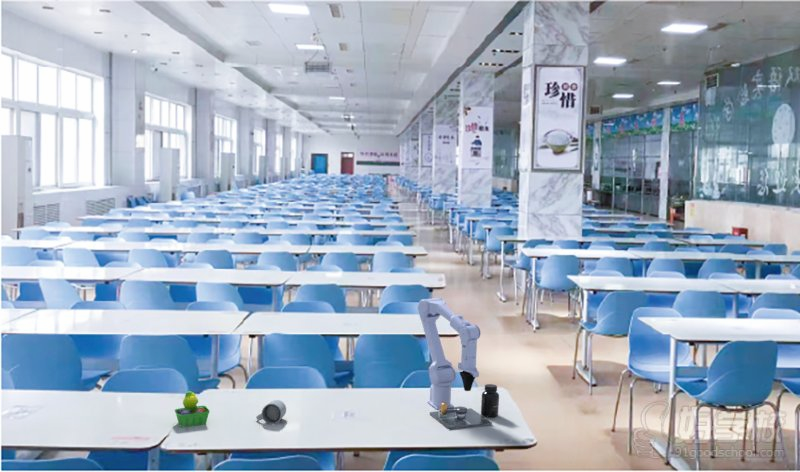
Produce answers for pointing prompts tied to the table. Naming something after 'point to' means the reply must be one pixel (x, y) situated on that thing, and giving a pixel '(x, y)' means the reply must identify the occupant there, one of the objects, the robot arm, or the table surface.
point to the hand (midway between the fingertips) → (467, 390)
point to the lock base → (461, 419)
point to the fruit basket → (191, 412)
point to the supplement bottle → (490, 401)
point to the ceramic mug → (273, 412)
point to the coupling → (457, 409)
